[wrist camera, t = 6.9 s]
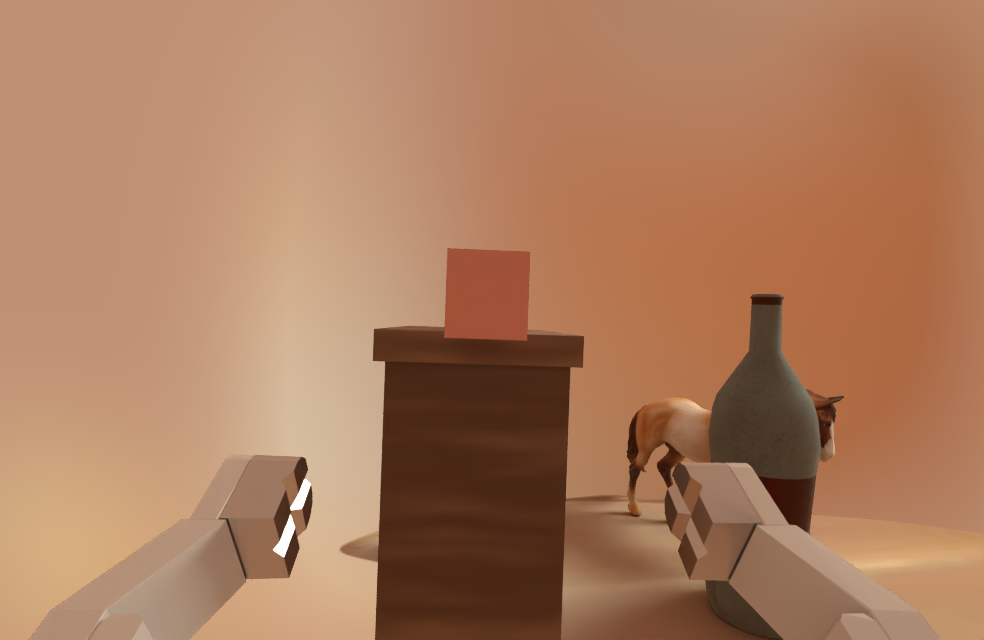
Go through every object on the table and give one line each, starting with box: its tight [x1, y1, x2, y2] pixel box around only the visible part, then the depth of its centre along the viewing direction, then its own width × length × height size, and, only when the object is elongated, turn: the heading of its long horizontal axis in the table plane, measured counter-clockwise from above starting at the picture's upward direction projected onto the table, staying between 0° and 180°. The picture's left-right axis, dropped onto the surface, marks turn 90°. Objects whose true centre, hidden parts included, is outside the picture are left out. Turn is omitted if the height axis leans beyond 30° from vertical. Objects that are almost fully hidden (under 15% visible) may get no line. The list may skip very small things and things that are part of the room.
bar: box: [444, 248, 530, 341], centre depth 26 cm, size 22×3×3 cm, turn 3°
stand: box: [373, 326, 584, 640], centre depth 30 cm, size 14×10×26 cm
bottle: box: [705, 294, 821, 639], centre depth 47 cm, size 9×9×30 cm
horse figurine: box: [627, 389, 844, 515], centre depth 63 cm, size 31×8×21 cm, turn 25°
